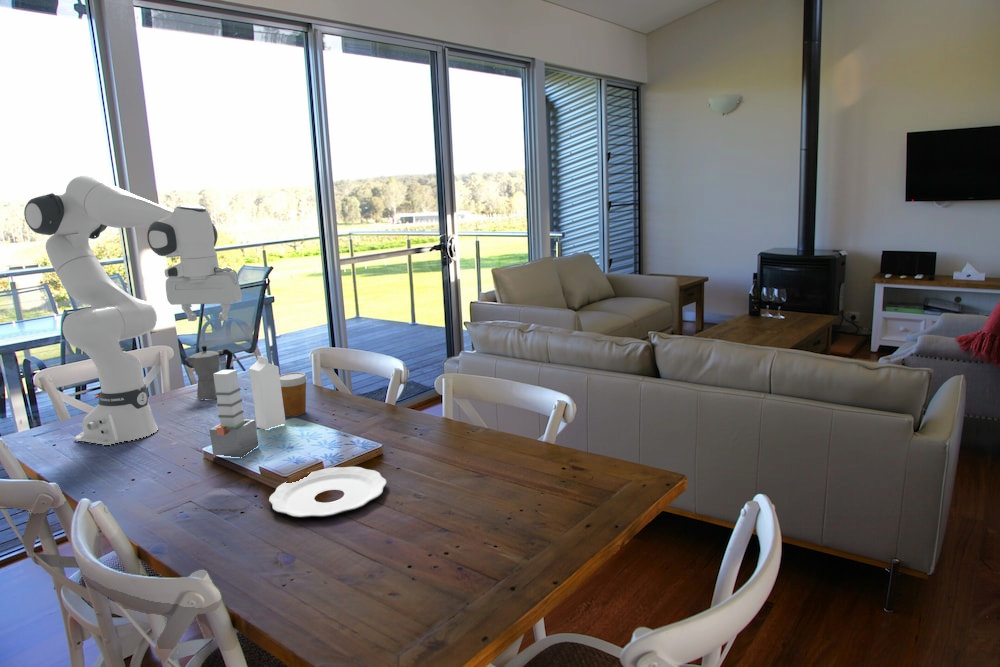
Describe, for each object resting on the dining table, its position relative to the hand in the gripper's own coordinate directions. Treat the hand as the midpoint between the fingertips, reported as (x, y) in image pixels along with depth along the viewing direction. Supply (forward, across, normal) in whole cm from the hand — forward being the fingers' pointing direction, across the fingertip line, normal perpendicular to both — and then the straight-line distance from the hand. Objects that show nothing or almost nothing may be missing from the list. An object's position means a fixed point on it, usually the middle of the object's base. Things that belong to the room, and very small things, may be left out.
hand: (208, 320), depth 180 cm
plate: (+36, -44, +26) cm, 62 cm away
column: (+28, -8, +7) cm, 30 cm away
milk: (+35, -6, -13) cm, 38 cm away
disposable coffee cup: (+35, -5, -28) cm, 45 cm away
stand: (+35, -8, +7) cm, 37 cm away
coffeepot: (+35, +35, -44) cm, 66 cm away
